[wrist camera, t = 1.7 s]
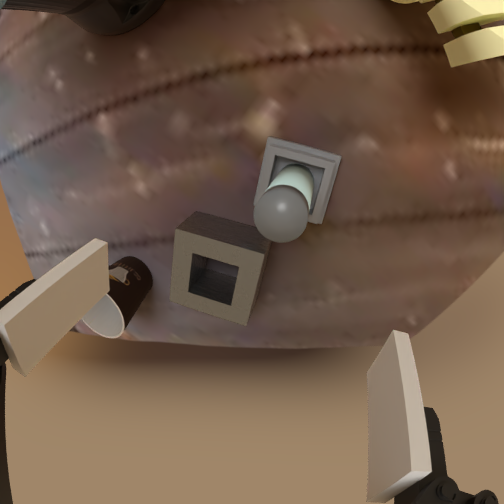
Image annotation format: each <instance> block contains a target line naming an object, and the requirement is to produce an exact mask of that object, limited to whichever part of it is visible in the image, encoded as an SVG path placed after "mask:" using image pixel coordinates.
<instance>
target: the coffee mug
mask: <svg viewBox="0 0 504 504" xmlns="http://www.w3.org/2000/svg"><path fill="white" fill-rule="evenodd" d="M108 269H109V288H110V291H109V292H108V293H107V294H106V295H105V296H103V297H102V298H101V299H100V300H99V301H98V302H97V303H96V304H95V305H94V306H93V307H92V308H91V309H90V310H89V311H88V312H87V313H86V314H85V315H84V316H83V317H82V318H81V319H82V320H83V321H84V323H85V324H86V325H87V326H88V327H89V328H90V329H92V330H93V331H94V332H96V333H97V334H99V335H101V336H104V337H107V338H117V337H119V336H120V335H122V333H123V332H124V330H125V328H126V327H127V325H128V323H129V322H130V320H131V318H132V317H133V315H134V314H135V312H136V310H137V309H138V307H139V306H140V304H141V302H142V301H143V299H144V298H145V296H146V295H147V293H148V291H149V290H150V288H151V287H152V282H153V280H152V275H151V272H150V270H149V269H148V267H147V266H146V265H145V264H144V263H143V262H142V261H141V260H139V259H137V258H135V257H131V256H127V257H124V258H122V259H121V260H119V261H117V262H115V263H114V264H112V265H111V266H109V267H108Z"/></svg>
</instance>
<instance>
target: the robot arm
mask: <svg viewBox="0 0 504 504" xmlns="http://www.w3.org/2000/svg"><path fill="white" fill-rule="evenodd" d="M164 1H165V0H0V9H13V10H29V11H40V12H49V13H58V14H64V15H66V16H67V17H69V18H70V19H71V20H73V21H74V22H75V23H77V24H78V25H79V26H81V27H82V28H83V29H85V30H87V31H89V32H92V33H96V34H102V35H117V34H122V33H125V32H127V31H130V30H132V29H134V28H136V27H137V26H139V25H141V24H142V23H143V22H145V21H146V20H147V19H148V18H150V17H151V16H152V15H153V14H154V13H155V12H156V11H157V10H158V8H159V7H160V6H161V5H162V3H163V2H164ZM109 291H110V288H109V269H108V243H107V242H105V241H102V240H99V239H96V238H95V239H93V240H92V241H90V242H89V243H87V244H86V245H85V246H83V247H82V248H80V249H79V250H77V251H76V252H75V253H73V254H72V255H70V256H69V257H67V258H66V259H65V260H63V261H62V262H61V263H59V264H58V265H56V266H55V267H54V268H52V269H51V270H50V271H48V272H47V273H46V274H44V275H43V276H42V277H40V278H39V279H38V280H35V279H33V280H30V281H28V282H25V283H23V284H22V285H21V286H19V287H18V288H17V289H16V290H15V291H13V292H12V293H10V294H9V296H7V297H5V298H4V299H3V300H2V301H0V504H13V501H12V495H11V489H10V482H9V474H8V464H7V453H6V438H5V382H6V364H5V361H6V360H7V359H8V358H9V360H10V362H11V364H12V367H13V368H14V369H15V370H17V371H18V372H19V373H20V374H22V375H23V376H24V377H26V376H27V375H28V374H29V372H30V371H31V370H32V369H33V368H34V367H35V366H36V365H37V364H38V362H39V361H40V360H41V359H42V358H43V357H44V356H45V355H46V354H47V353H48V352H49V351H50V350H51V349H52V348H53V347H54V346H55V345H56V344H57V342H58V341H59V340H60V339H61V338H62V337H63V336H64V335H65V334H66V333H67V332H68V331H69V330H70V329H71V328H72V327H73V326H74V325H75V324H76V323H77V322H78V321H79V320H80V319H81V318H82V317H83V316H84V315H85V314H86V313H87V312H88V311H89V310H90V309H91V308H92V307H93V306H94V305H95V304H96V303H97V302H98V301H99V300H100V299H101V298H102V297H103V296H105V295H106V294H107V293H108V292H109ZM367 386H368V424H369V427H368V428H369V445H368V447H369V448H368V483H367V502H381V503H386V502H387V501H389V500H390V499H392V498H393V497H394V504H498V499H497V497H496V496H495V494H494V493H493V492H491V491H489V490H484V491H481V492H479V493H478V494H476V495H471V494H468V493H465V492H462V491H460V490H459V489H458V486H457V484H456V483H455V481H454V480H453V479H451V478H449V477H448V476H447V470H446V462H445V455H444V448H443V442H442V435H441V433H440V431H441V429H440V423H439V419H438V417H437V415H436V413H435V411H434V410H433V408H428V407H423V401H422V395H421V391H420V385H419V380H418V375H417V370H416V365H415V361H414V356H413V352H412V348H411V344H410V339H409V335H408V333H404V332H400V331H396V330H393V331H392V333H391V334H390V336H389V338H388V339H387V341H386V343H385V344H384V346H383V348H382V349H381V351H380V353H379V354H378V356H377V357H376V359H375V361H374V362H373V364H372V365H371V367H370V368H369V370H368V371H367Z"/></svg>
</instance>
